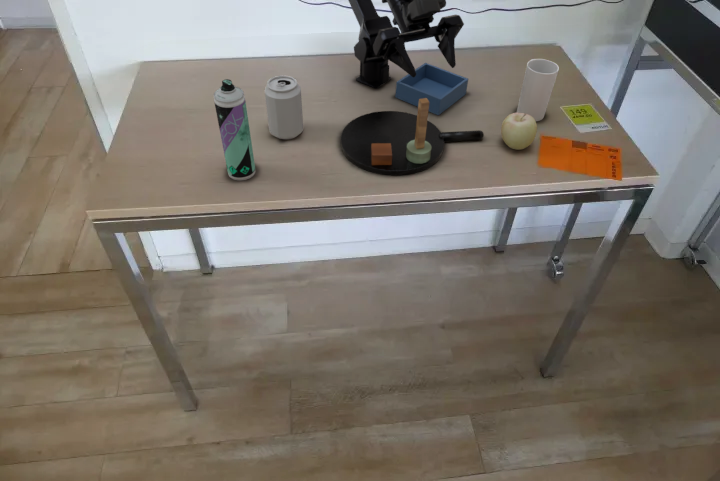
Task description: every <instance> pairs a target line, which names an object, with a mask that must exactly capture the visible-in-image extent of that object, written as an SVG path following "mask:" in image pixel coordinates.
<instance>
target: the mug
mask: <svg viewBox="0 0 720 481" xmlns="http://www.w3.org/2000/svg"><path fill="white" fill-rule="evenodd" d="M559 70H560V67H559V65H558V64H557V63H556V62H554V61H551V60H550V59H545V58H531V59H530V60H528V61H527V63H526V67H525V72H524V76H523V80H522V85H521V88H520V89H521V90H520V94H519V99H518V104H517V108H516V113H524V114H525V113H526V114H528V115H530V116H532V117H533V118H534V119H535V121H536V122H540V121H542V120H543V119H544V117H545V115H546V111H547V110H548V106H549V103H550V99H551V96H552V93H553V89H554V88H555V87H554V86H555V83H556V80H557V77H558V73H559Z"/></svg>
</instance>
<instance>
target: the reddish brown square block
mask: <svg viewBox="0 0 720 481" xmlns="http://www.w3.org/2000/svg"><path fill="white" fill-rule="evenodd" d="M371 161H372V165H392V149H391V143H372V144H371Z"/></svg>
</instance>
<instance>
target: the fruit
mask: <svg viewBox="0 0 720 481" xmlns="http://www.w3.org/2000/svg"><path fill="white" fill-rule="evenodd" d="M537 132H538V125H537V121H535V119H534V118H533V117H532V116H530V115H528V114H526V113H525V114H524V113H517V112H512V113H510V114H508V115H507V116H506V117H505V118H504V120H503V121H502V123H501V127H500V134H501V139H502V140H503V142H504V143H505V145H506V146H507V147H509V148H510V149H513V150H519V151H520V150H524V149H526V148H528V147H530V146H531V144H532V143H533V142H534V141H535V138H536V135H537Z"/></svg>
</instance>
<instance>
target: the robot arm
mask: <svg viewBox="0 0 720 481" xmlns="http://www.w3.org/2000/svg"><path fill="white" fill-rule="evenodd" d="M348 3H349V5H350V8H351V10H352V11H353V14H354V16H355V19H356V21H357V23H358V25H359V33H358V38H357V40H358V41H357V43H356V44H354V46H353V54H354V57H355V58H356V59H357V60H358V61H359V76H357V77H356V78H355V81H356V82H357V83H361V84H363V85H365V86H367V87H370V88H372V89H379V88H381V87H382V86H383V85H384V84H386V83H388V82H389V81H391V80H392V77H391V75H390V64H389V61H390V62H391V63H393V64H394V65H396V66H398V67H399V68H400V69H401V70H403V71H404V72H405V73H407V75H408V74H409V75H411V76H412V77H415V76H416V72H415V69H416V68H415V67H414V64H413V62H412V60H411V58H410V56H409V53H408V51H407V50H406V44H407V43H410V42H416V41H421V40H425V39H430V38H434V40H435V42H437V43H438V44H437V48H438V50H439V51H440V53H441V54H442V56H443V57H444V59H445V61H446V62H447V63H448V65H449V66H450V67H451V68H452V69H454V68H455V67H456V65H457V62H456V51H455V49H456V48H455V42H456V41H455V40H456V38H457V36H458V35H459V33H460V32H461V31H462V29H463V27H464V25H465V23H464V21H463V19H462V17H461V16H460V15H459V14H452V15H446V16H442V17H441V18H440V20H439V22H438V24H437V25H433V26H431V25H430V24H432V23H433V21H434V20H435V19H434V18H435V17H434V16H435V15H436V14H437V13H440V12H442V9H443V8H445V7H446V6H447V0H381V3H382V4H386V3H387V5H388V7H389V9H390V11H391V14H392V16H393V18H392V21H391V18H390V17H389V16H388V15H383V16H380V15H379V14H378V11H377V10H376V7H375V5H374V3H373V0H348Z"/></svg>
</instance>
